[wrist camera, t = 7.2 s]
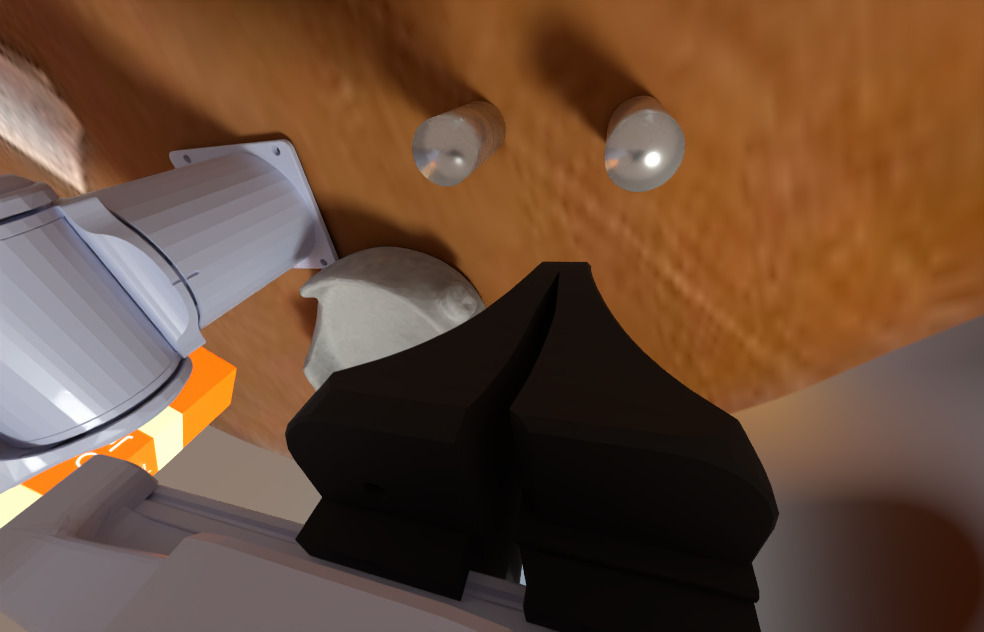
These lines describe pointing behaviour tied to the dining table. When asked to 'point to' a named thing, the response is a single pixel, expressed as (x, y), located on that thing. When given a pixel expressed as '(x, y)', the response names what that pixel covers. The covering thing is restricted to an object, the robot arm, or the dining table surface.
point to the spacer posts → (481, 131)
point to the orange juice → (145, 432)
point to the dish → (382, 307)
